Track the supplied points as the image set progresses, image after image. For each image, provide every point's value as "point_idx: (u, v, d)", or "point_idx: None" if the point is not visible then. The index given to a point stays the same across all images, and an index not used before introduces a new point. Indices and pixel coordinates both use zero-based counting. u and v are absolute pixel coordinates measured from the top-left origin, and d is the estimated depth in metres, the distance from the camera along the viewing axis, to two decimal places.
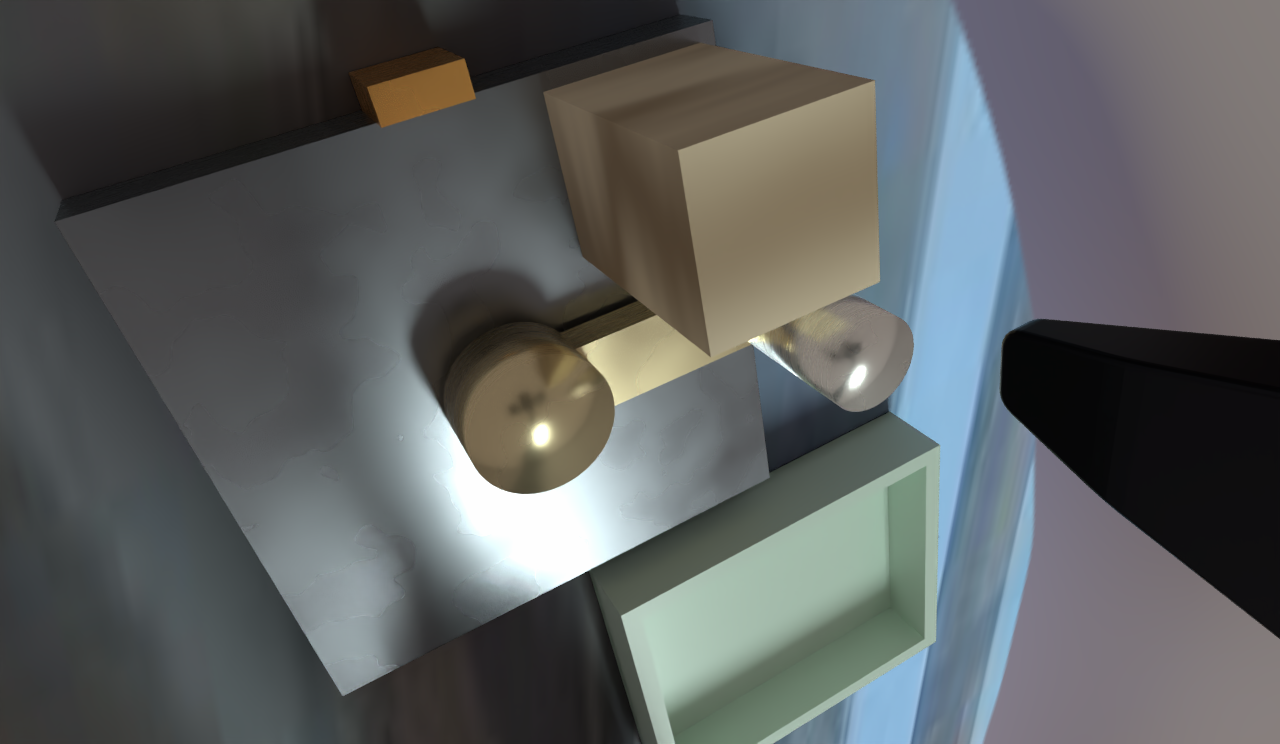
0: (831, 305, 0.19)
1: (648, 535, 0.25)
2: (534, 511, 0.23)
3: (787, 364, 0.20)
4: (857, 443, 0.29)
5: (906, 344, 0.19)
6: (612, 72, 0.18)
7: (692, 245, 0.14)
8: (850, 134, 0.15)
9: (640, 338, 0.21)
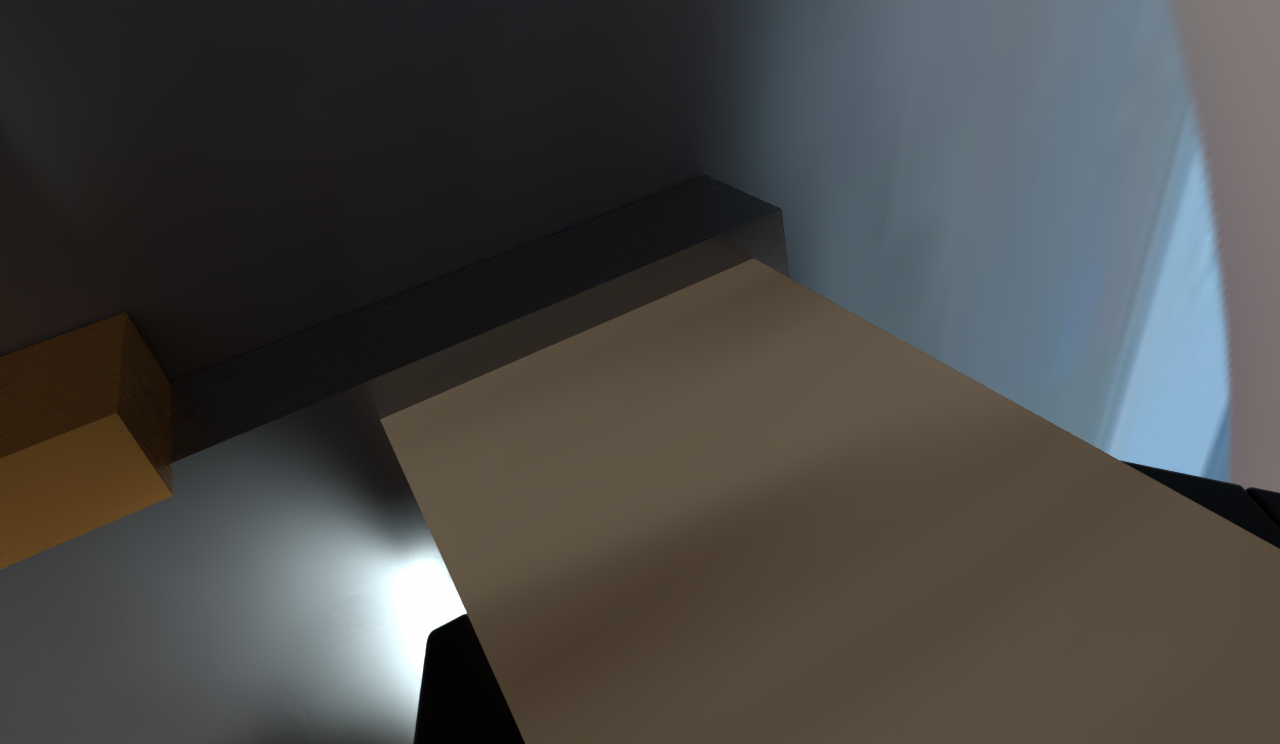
0: None
1: None
2: None
3: None
4: None
5: None
6: (551, 356, 0.08)
7: None
8: None
9: None
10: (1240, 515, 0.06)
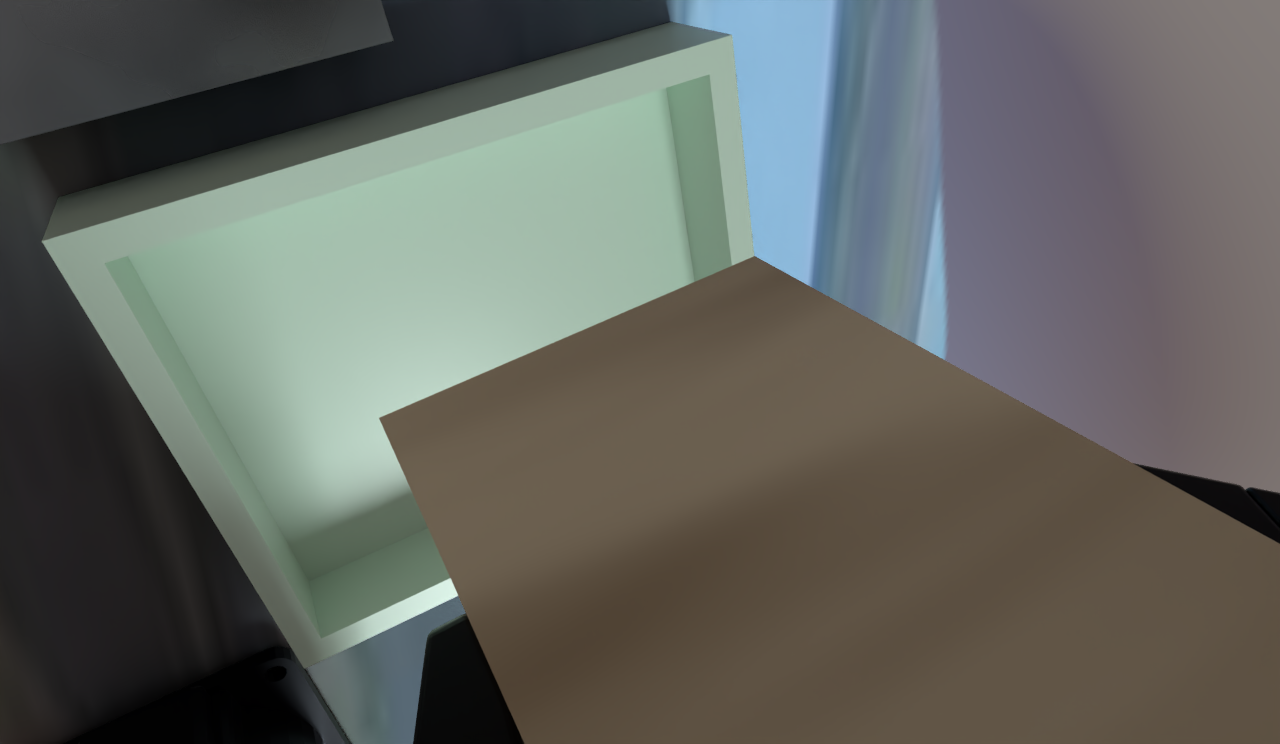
0: None
1: (118, 100, 0.13)
2: None
3: None
4: (600, 49, 0.17)
5: None
6: (550, 354, 0.08)
7: None
8: None
9: None
10: (1239, 515, 0.06)
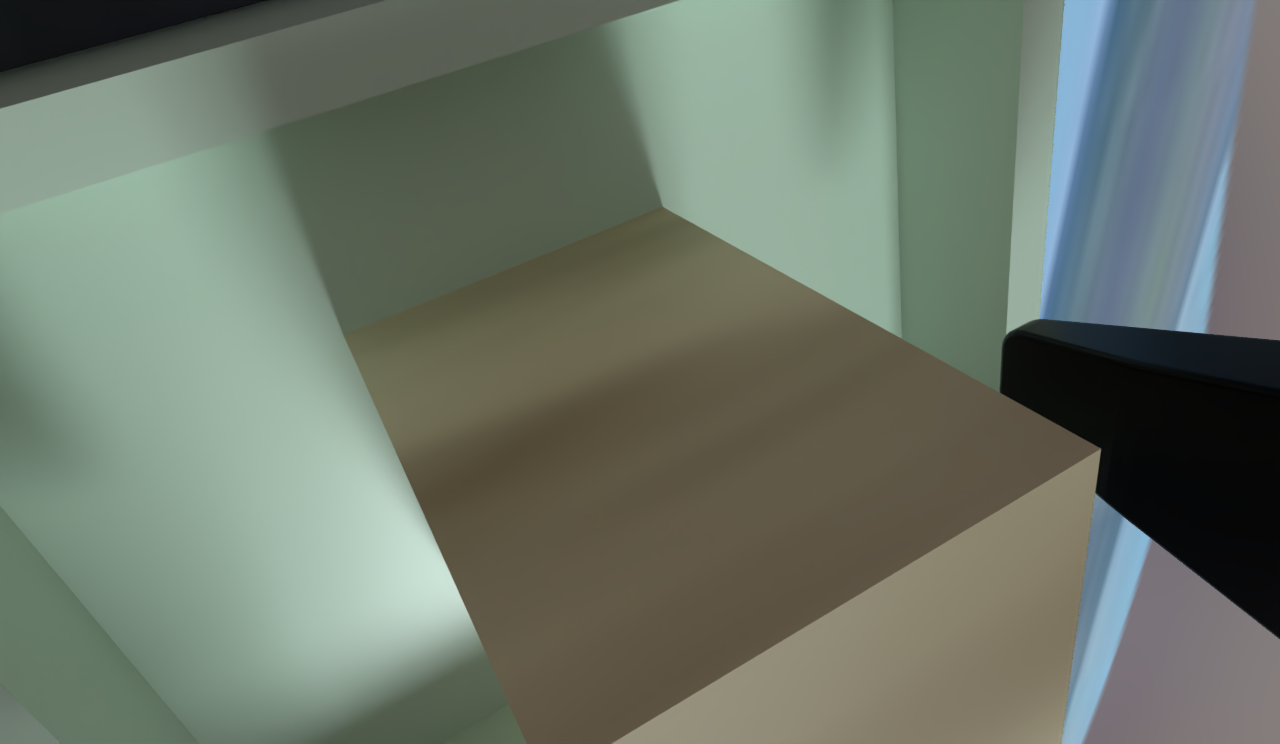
0: None
1: None
2: None
3: None
4: None
5: None
6: (486, 285, 0.09)
7: None
8: (1029, 573, 0.06)
9: None
10: None
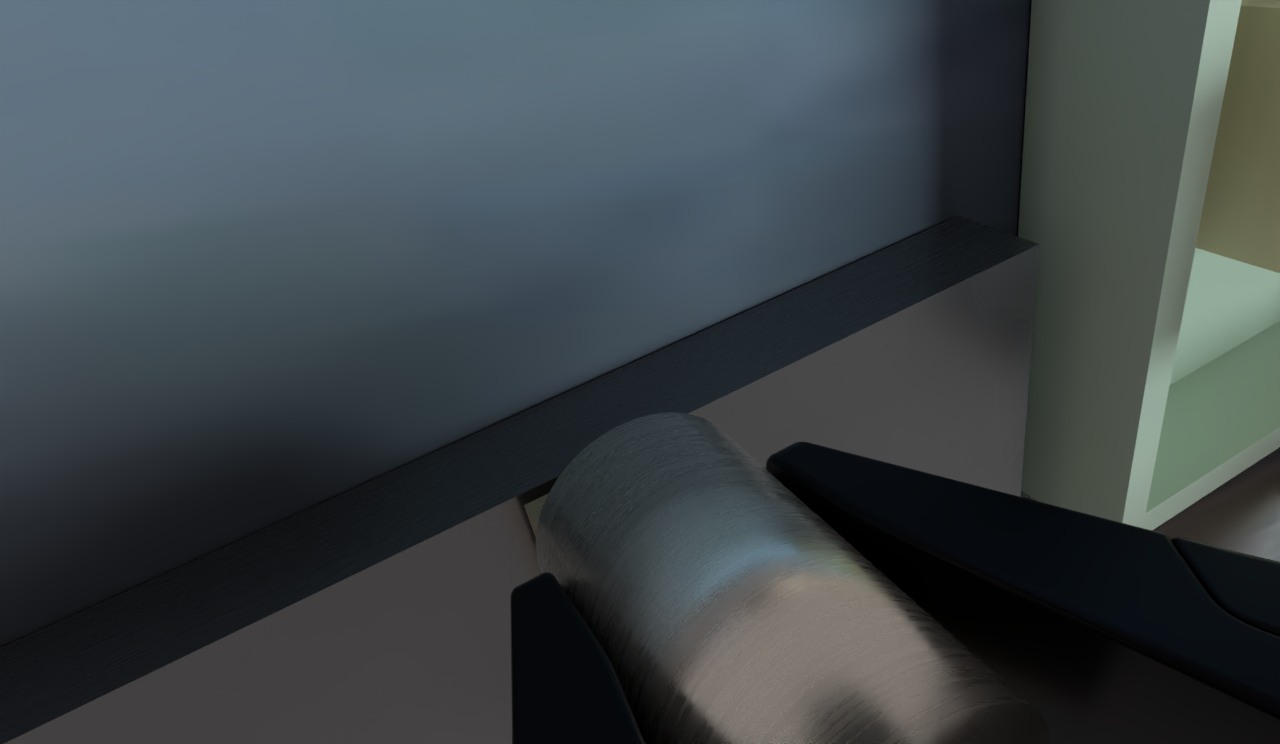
0: None
1: (1014, 485, 0.14)
2: None
3: None
4: None
5: None
6: None
7: None
8: None
9: None
10: (1162, 568, 0.06)
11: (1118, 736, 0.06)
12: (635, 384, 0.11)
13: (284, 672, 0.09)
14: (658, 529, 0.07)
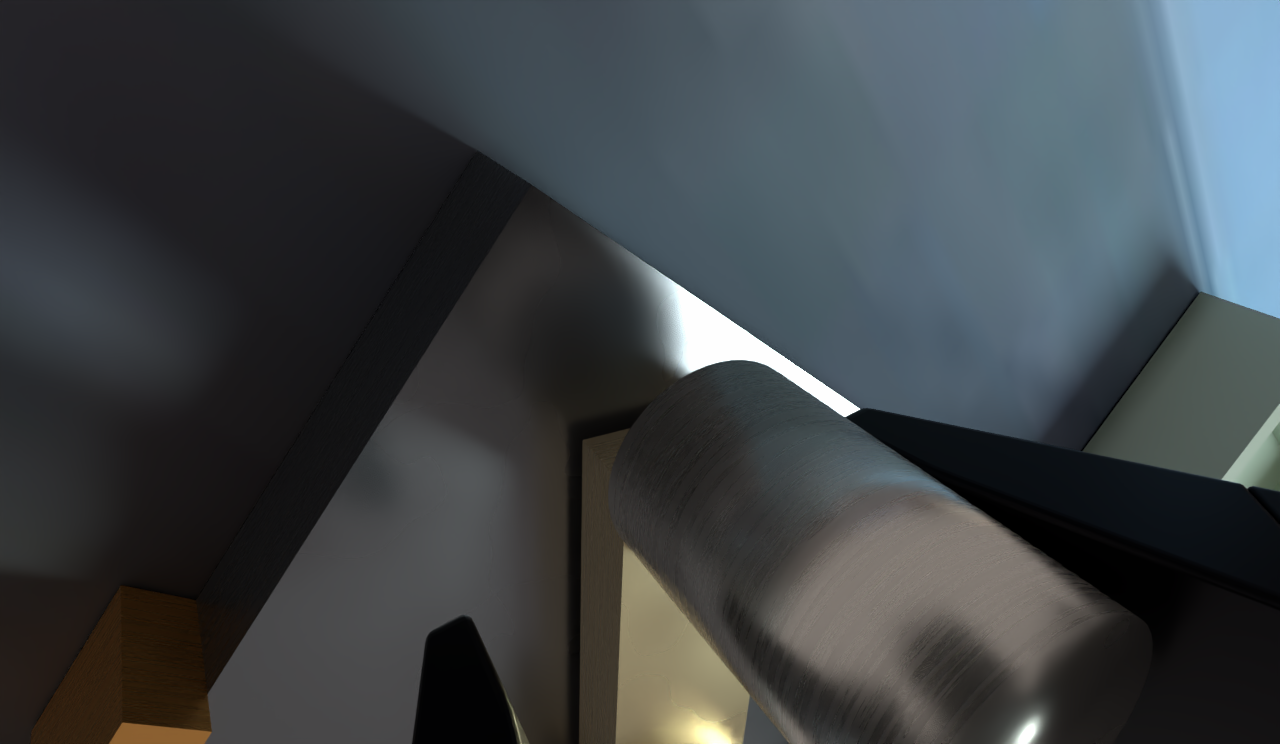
0: (790, 725, 0.06)
1: None
2: None
3: None
4: (1172, 383, 0.18)
5: (1061, 660, 0.05)
6: None
7: None
8: None
9: (647, 737, 0.10)
10: (1242, 514, 0.06)
11: (1199, 675, 0.06)
12: None
13: None
14: (777, 446, 0.07)
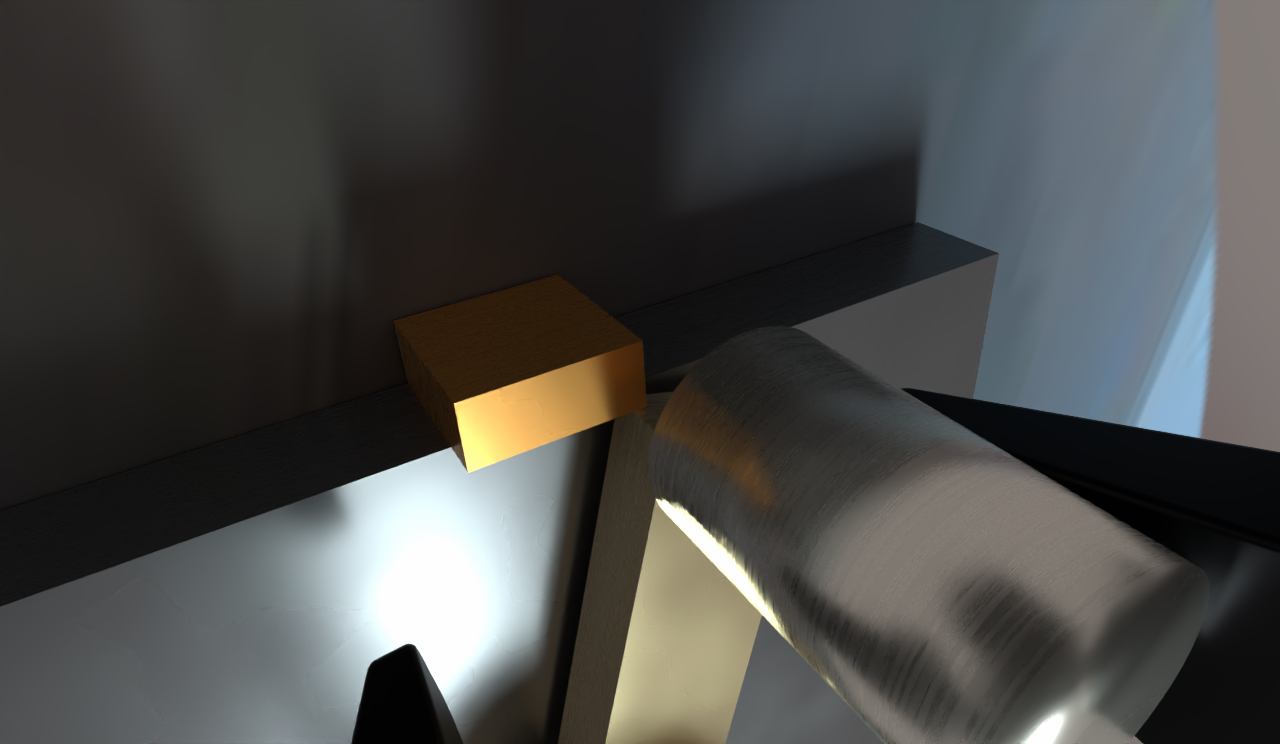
0: (851, 665, 0.06)
1: None
2: None
3: None
4: None
5: (1145, 600, 0.05)
6: None
7: None
8: None
9: (640, 717, 0.10)
10: None
11: (1248, 639, 0.06)
12: None
13: None
14: (842, 398, 0.07)
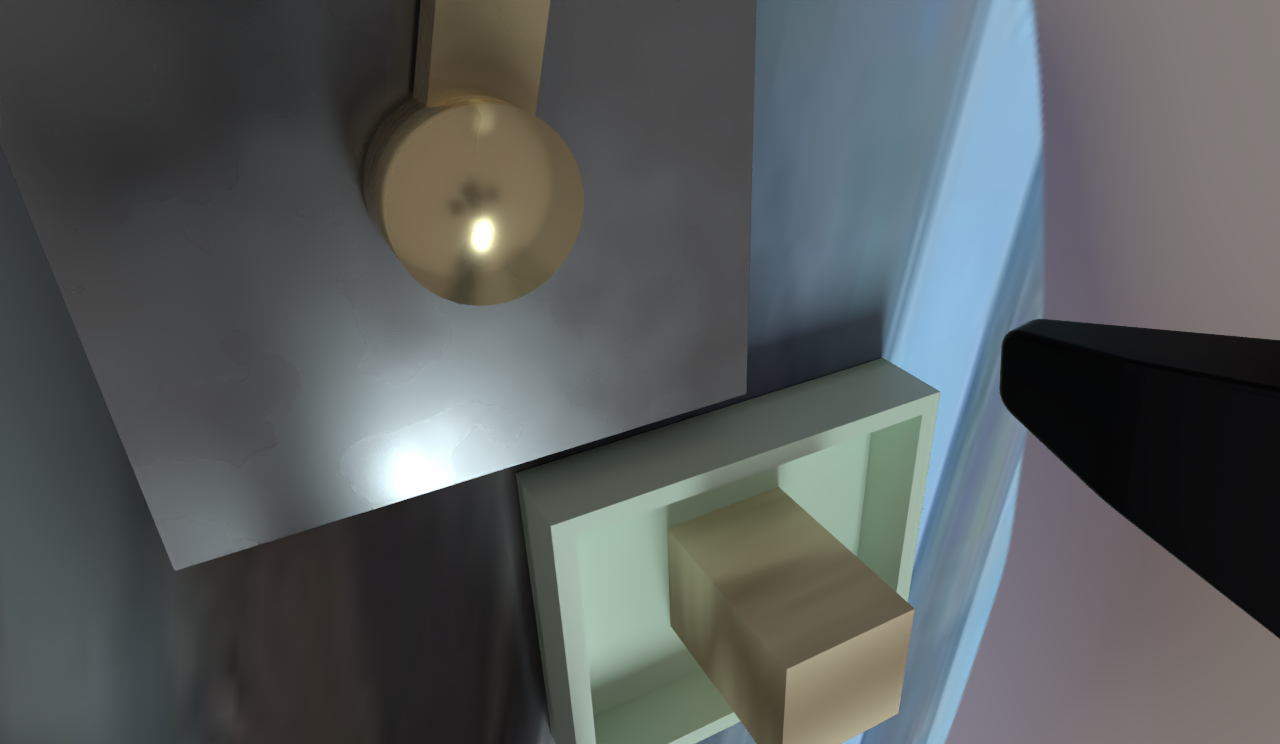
0: None
1: (596, 434, 0.21)
2: (460, 366, 0.18)
3: None
4: (845, 383, 0.25)
5: None
6: (716, 514, 0.25)
7: (783, 716, 0.21)
8: (894, 639, 0.22)
9: (461, 7, 0.14)
10: None
11: None
12: None
13: None
14: None
